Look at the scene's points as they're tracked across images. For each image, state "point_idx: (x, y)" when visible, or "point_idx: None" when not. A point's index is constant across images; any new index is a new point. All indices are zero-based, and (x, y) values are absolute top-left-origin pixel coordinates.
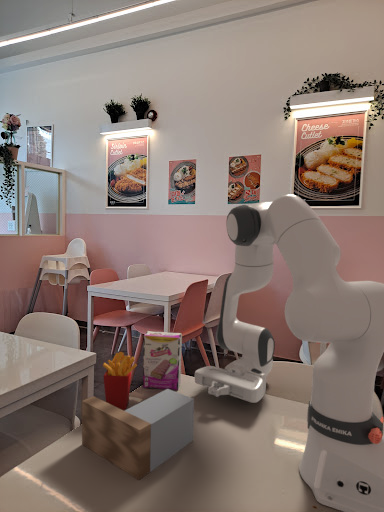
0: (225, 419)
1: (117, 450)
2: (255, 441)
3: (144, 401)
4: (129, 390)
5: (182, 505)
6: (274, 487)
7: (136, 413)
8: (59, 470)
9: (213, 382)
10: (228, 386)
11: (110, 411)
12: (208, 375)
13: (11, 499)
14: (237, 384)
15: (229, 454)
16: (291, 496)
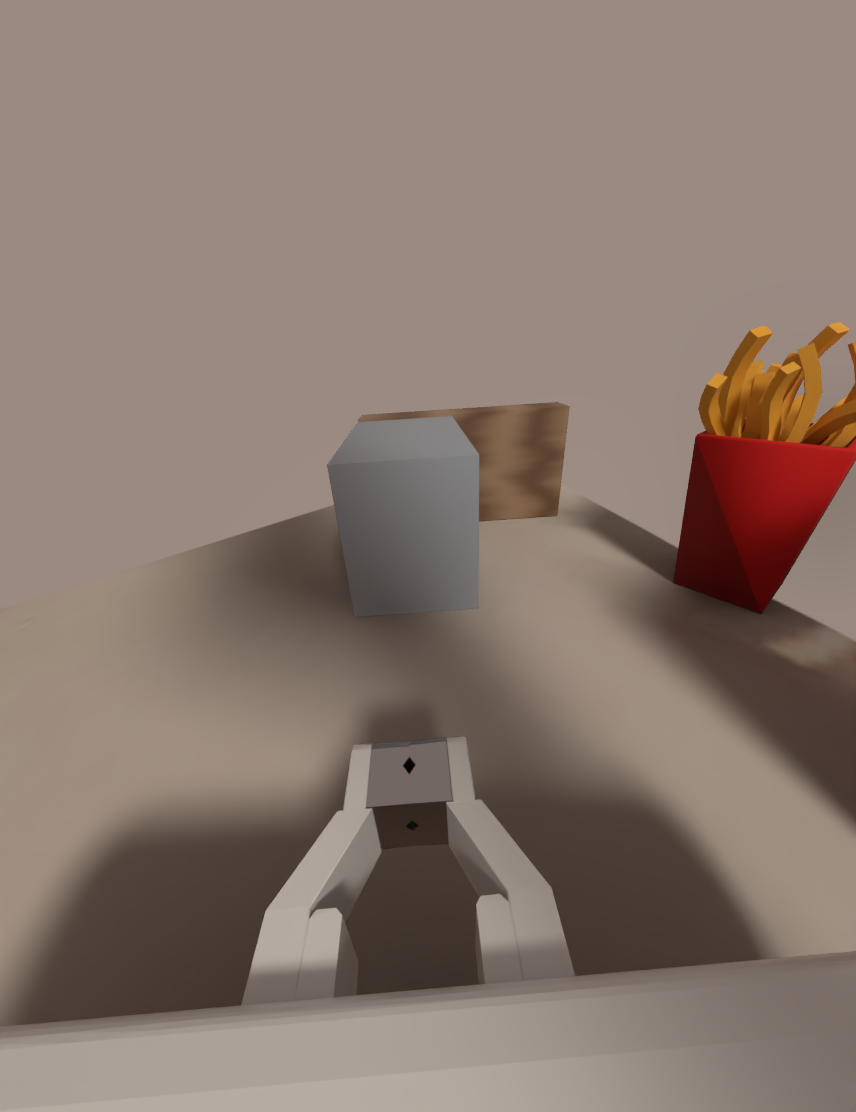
0: (287, 837)
1: None
2: (69, 762)
3: (455, 428)
4: (780, 561)
5: (272, 525)
6: (50, 620)
7: (419, 420)
8: None
9: (524, 887)
10: (258, 944)
11: (468, 409)
12: (769, 991)
13: None
14: (48, 1068)
15: (203, 638)
16: (2, 623)
